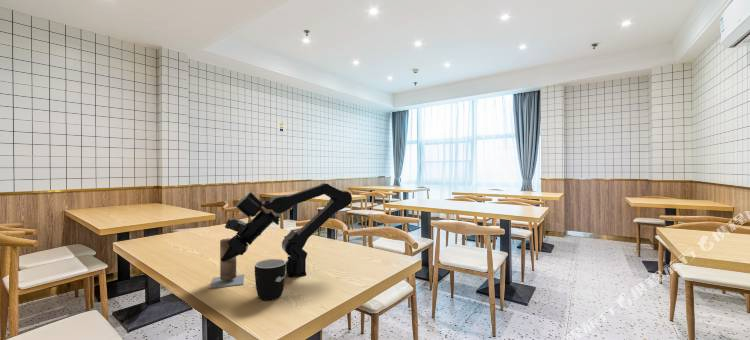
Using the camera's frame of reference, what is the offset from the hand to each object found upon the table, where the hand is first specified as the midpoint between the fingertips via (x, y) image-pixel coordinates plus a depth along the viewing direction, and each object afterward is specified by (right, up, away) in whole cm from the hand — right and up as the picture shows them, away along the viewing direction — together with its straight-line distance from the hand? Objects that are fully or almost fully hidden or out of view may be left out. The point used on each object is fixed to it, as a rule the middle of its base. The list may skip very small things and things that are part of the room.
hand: (224, 258), depth 105 cm
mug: (+20, -8, -11) cm, 24 cm away
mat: (+1, -8, 0) cm, 8 cm away
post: (+1, -7, 0) cm, 7 cm away
